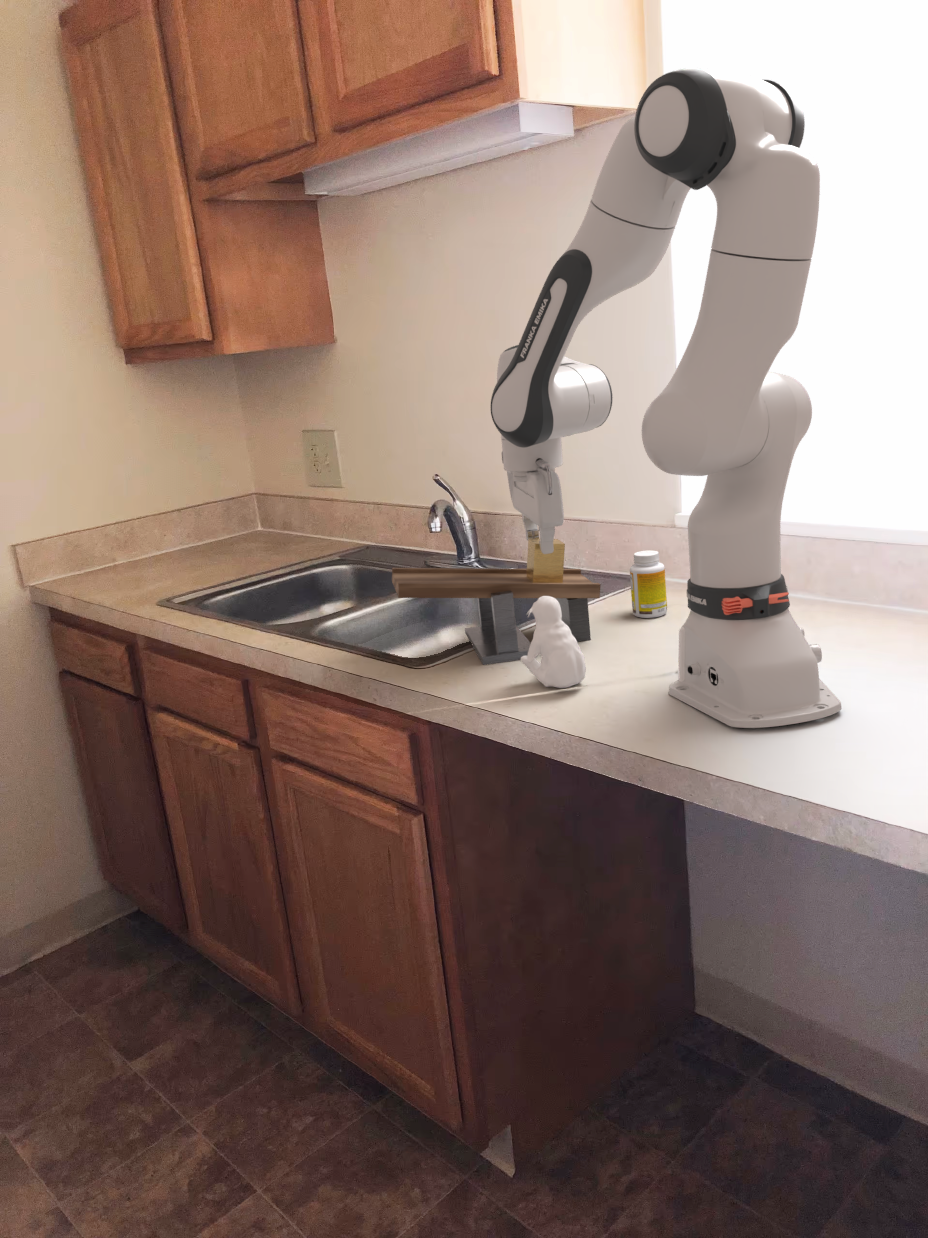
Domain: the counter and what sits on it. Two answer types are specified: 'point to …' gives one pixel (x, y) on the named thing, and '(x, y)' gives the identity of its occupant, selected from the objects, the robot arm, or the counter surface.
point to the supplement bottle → (648, 585)
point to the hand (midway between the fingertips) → (539, 546)
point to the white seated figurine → (553, 647)
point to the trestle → (505, 639)
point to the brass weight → (545, 563)
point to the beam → (487, 583)
